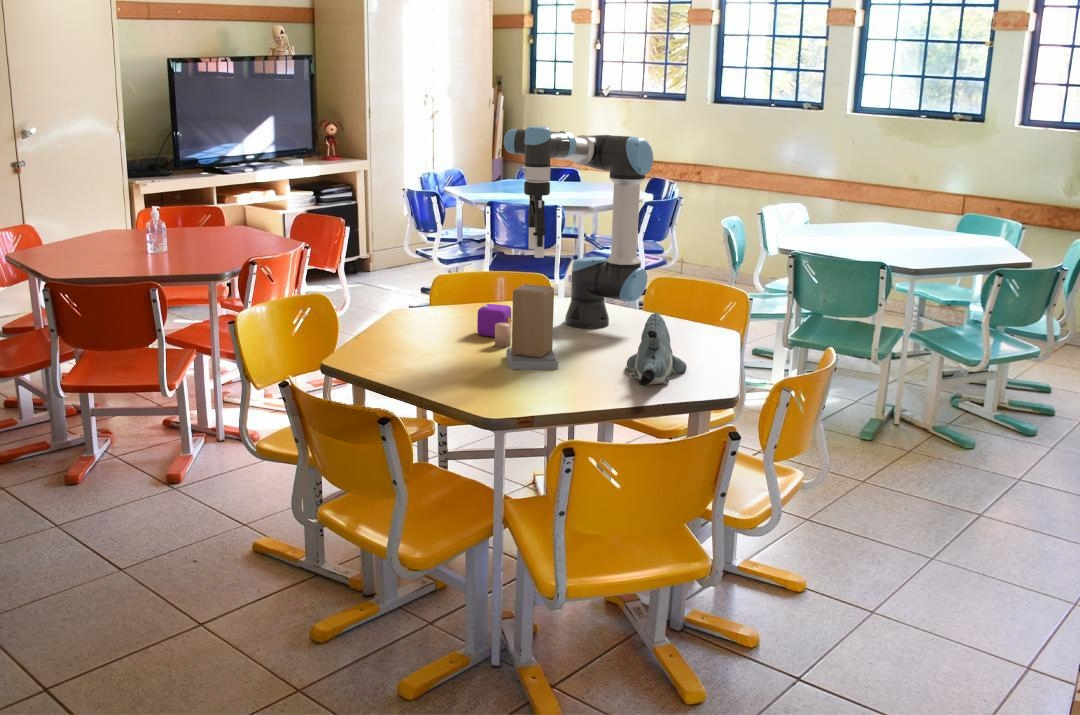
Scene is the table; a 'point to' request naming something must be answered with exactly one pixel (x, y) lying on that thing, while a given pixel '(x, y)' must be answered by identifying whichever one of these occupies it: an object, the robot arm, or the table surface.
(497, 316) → the toy camera
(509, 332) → the peach rounded capsule part
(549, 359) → the stand
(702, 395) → the table surface
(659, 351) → the shark plush
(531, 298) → the wooden block
